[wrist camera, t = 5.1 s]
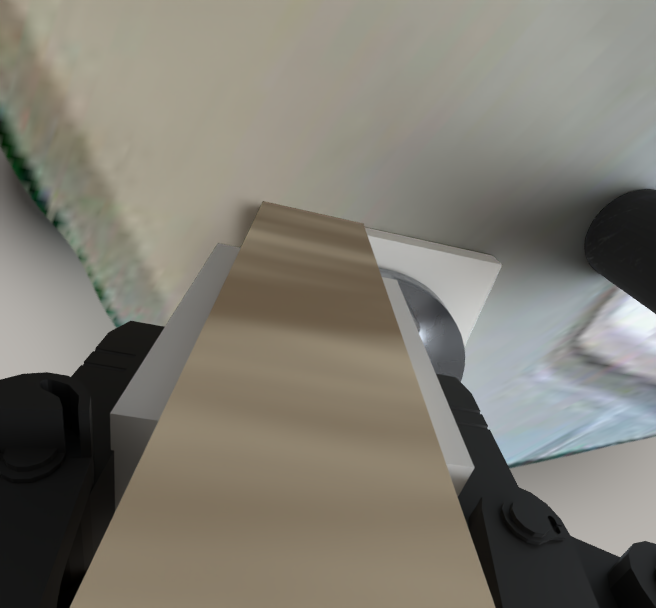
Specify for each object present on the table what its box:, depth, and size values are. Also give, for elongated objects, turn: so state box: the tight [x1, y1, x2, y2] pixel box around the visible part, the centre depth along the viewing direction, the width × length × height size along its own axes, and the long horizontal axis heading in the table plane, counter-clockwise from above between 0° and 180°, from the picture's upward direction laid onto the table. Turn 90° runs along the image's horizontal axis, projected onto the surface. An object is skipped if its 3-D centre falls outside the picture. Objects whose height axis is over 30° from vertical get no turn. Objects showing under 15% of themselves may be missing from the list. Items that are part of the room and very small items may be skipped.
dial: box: [379, 268, 465, 382], centre depth 31 cm, size 16×16×5 cm
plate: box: [365, 227, 502, 347], centre depth 34 cm, size 18×18×2 cm
